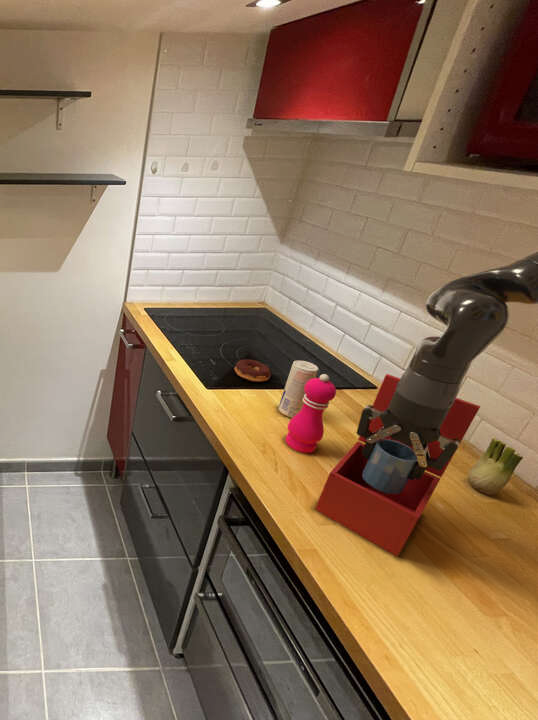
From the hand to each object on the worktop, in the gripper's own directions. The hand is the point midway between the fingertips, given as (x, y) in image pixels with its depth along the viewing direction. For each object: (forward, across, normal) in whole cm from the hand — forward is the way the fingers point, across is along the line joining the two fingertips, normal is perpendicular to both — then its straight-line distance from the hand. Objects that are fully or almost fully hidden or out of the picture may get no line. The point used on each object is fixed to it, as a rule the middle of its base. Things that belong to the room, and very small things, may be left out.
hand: (388, 467), depth 86 cm
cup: (+4, 0, 0) cm, 4 cm away
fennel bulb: (+12, -13, -28) cm, 33 cm away
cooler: (+12, 0, 0) cm, 12 cm away
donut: (+12, +40, -34) cm, 54 cm away
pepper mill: (+12, +17, -11) cm, 24 cm away
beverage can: (+12, +24, -24) cm, 36 cm away
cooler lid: (-7, 0, -7) cm, 10 cm away
